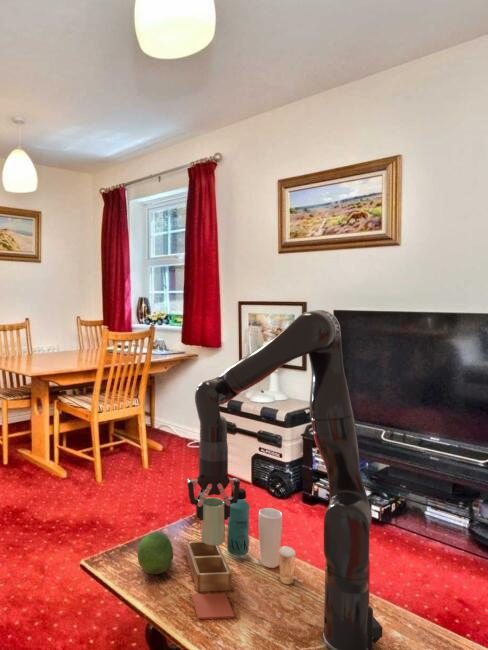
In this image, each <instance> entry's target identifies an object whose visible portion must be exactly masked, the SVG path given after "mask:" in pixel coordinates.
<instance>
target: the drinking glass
mask: <svg viewBox="0 0 488 650" xmlns="http://www.w3.org/2000/svg"><path fill="white" fill-rule="evenodd" d="M283 522H284V521H283V512H281V511H280V510H279V509H276V508H273V507H264V508H261V509H260V510H258V517H257V523H258V524H257V525H258V526H257V527H258V539H259V540H258V541H259V542H258V543H259V556H260V557H259V560H260V564H261V565H262V566H264V567H265V568H269V569H274V568H277V567H278V566H280V563H279V549H280V548H281V547H282V546H281V545H282V538H283V537H282V536H283V525H284V524H283Z"/></svg>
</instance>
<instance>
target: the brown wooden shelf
mask: <svg viewBox="0 0 488 650" xmlns="http://www.w3.org/2000/svg"><path fill="white" fill-rule="evenodd" d="M185 543H186V544H185V546H186V547H185V557H186V560H187V563H188V566H189V569H190V572H191V577H192V579H193V582H194V585H195V589H196V592H197V593H199V592H220V591H221V592H222V591H223V592H224V591H232V572H231V569H230V567H229V565H228V563H227V561H226V558H225V556H224V554H223V552H222V550H221V548H220V545H208V544H206V543H204V542H203V541H202V540H193V541H186V542H185Z"/></svg>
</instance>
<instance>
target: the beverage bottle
mask: <svg viewBox="0 0 488 650" xmlns="http://www.w3.org/2000/svg"><path fill="white" fill-rule="evenodd" d="M245 499H247V491H246V489H245V488H243V487H239V494H238V501H237V503H233V504H231V505H230V517H228V520H227V534H226V536H227V539H226V540H227V541H226V542H227V543H226V549H227V552H228V553H229V554H230V555H232V556H236V557H243V556H247V554H248V553H249V547H250V536H249V535H250V504H249V503H248V502H247V500H245Z"/></svg>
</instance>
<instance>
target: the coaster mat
mask: <svg viewBox="0 0 488 650" xmlns="http://www.w3.org/2000/svg"><path fill="white" fill-rule="evenodd" d="M190 596H191V600H192V604H193V608H194V610H195V614H196V617H197V620H214V619H216V620H217V619H234V618H235V617H236V615H235V613H234V611H233V608H232V606H231V603H230V601H229V599H228V596H227V594H226V592H221V593H220V592H219V593H217V592H216V593H197V594H194V593H193V594H191V595H190Z"/></svg>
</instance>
